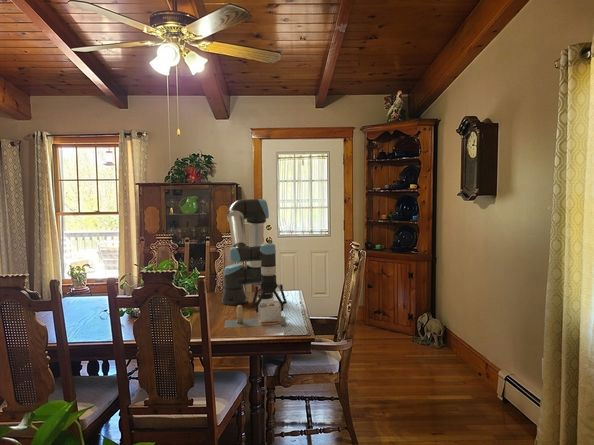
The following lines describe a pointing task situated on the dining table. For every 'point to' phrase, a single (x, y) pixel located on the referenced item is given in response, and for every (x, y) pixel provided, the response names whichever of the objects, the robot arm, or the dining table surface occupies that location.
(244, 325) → the post board
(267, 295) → the jar
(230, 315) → the dining table surface
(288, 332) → the dining table surface
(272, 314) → the collar
